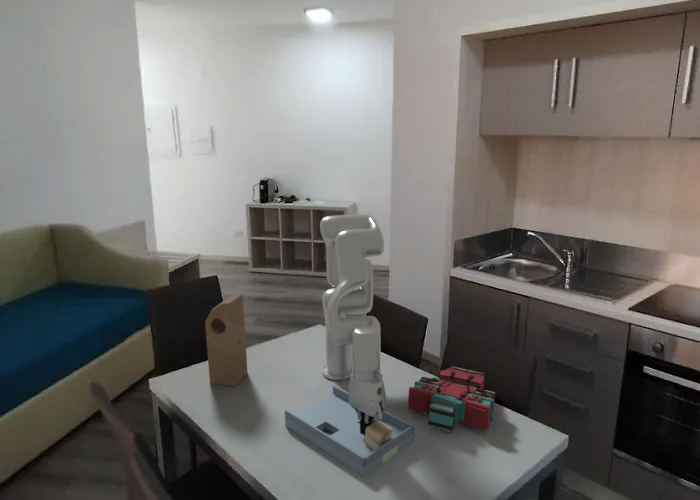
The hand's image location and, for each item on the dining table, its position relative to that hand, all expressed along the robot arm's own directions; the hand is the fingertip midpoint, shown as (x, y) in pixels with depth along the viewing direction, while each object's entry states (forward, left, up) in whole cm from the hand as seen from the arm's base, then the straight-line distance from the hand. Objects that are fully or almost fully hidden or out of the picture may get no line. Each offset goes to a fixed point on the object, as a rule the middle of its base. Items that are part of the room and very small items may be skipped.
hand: (366, 432), depth 136 cm
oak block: (+1, +5, -1) cm, 5 cm away
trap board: (0, -7, -4) cm, 8 cm away
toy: (-32, +8, -4) cm, 33 cm away
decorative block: (+6, -60, -4) cm, 61 cm away
